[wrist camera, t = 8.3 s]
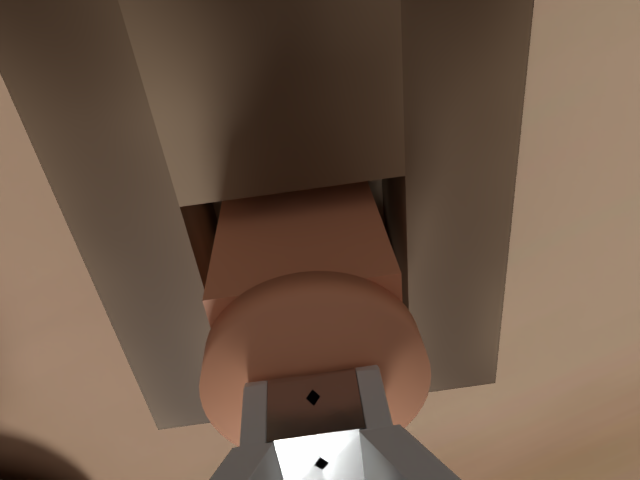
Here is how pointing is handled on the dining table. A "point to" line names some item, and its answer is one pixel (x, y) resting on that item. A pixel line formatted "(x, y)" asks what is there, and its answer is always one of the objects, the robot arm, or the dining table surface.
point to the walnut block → (275, 151)
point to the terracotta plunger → (306, 300)
